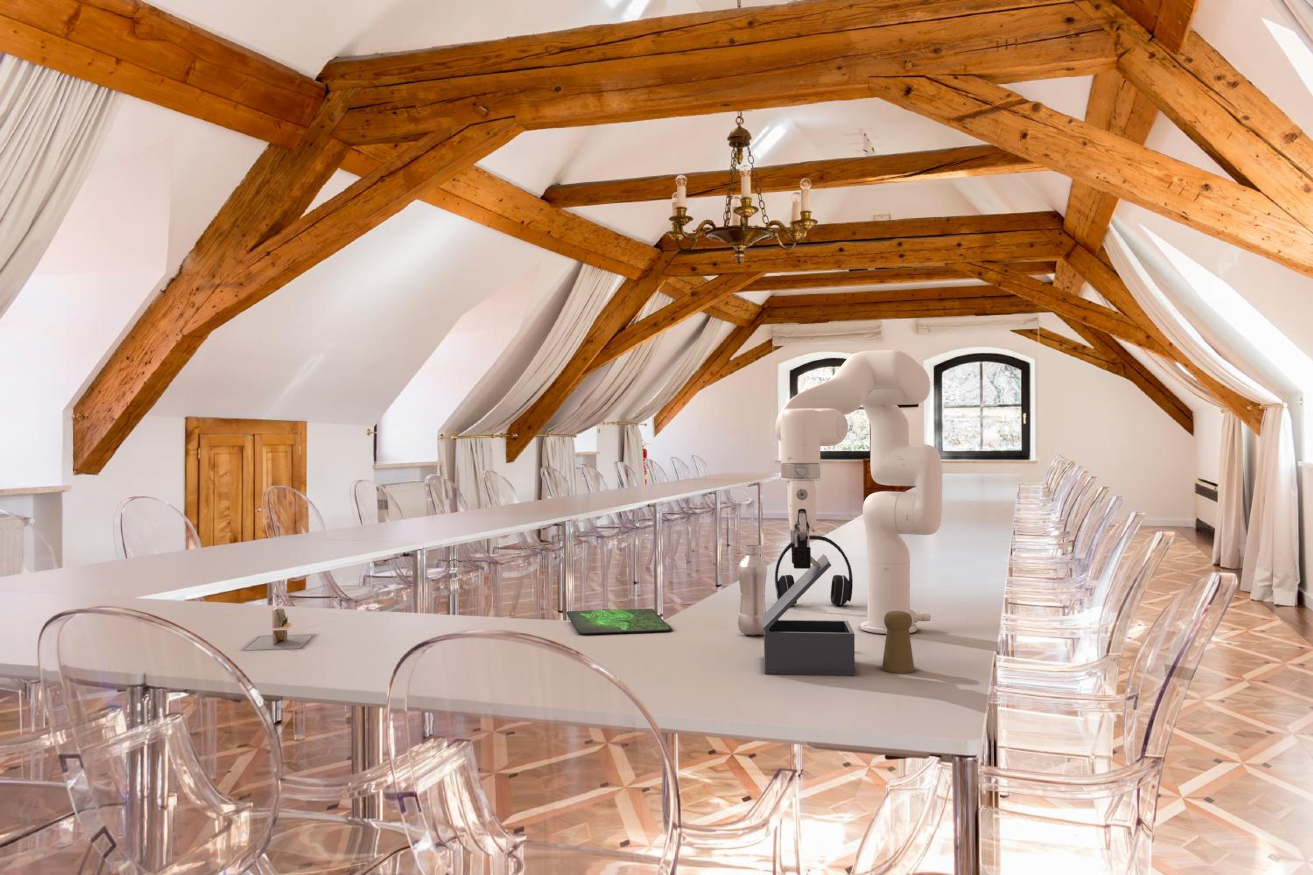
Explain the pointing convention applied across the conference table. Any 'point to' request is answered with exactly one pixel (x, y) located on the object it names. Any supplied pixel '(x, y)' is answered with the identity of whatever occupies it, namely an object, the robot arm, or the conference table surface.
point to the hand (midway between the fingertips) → (801, 565)
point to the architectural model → (279, 634)
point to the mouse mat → (617, 621)
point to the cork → (898, 643)
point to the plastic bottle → (752, 591)
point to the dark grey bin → (809, 648)
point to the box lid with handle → (796, 591)
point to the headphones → (840, 583)
